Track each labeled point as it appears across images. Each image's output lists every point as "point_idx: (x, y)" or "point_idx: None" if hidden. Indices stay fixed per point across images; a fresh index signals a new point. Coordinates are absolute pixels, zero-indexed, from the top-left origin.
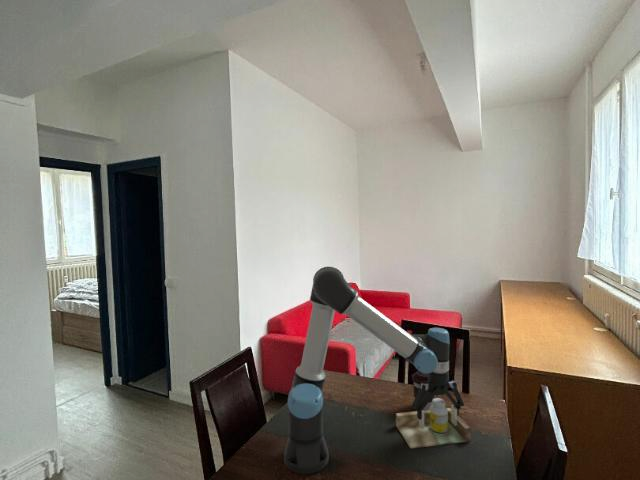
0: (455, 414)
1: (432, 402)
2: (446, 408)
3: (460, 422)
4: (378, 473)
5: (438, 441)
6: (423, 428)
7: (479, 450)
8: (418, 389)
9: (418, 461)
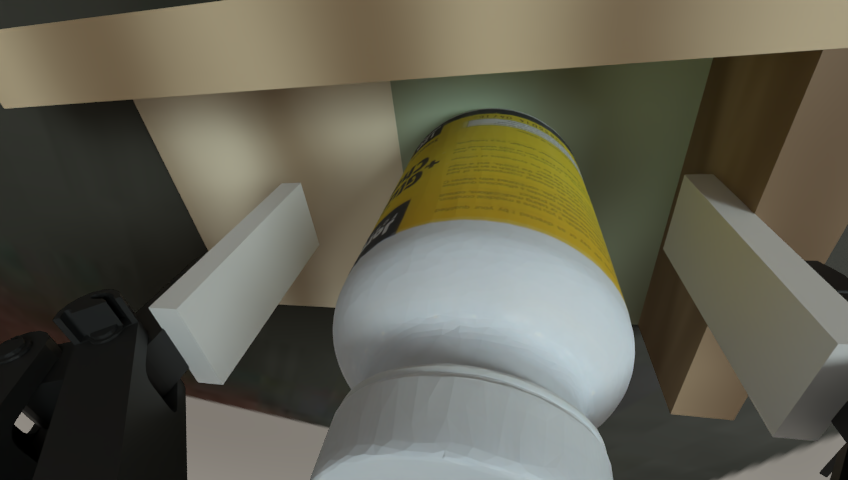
0: (731, 352)
1: (325, 442)
2: (597, 426)
3: (712, 343)
4: None
5: None
6: (311, 246)
7: (658, 388)
8: None
9: (273, 369)
